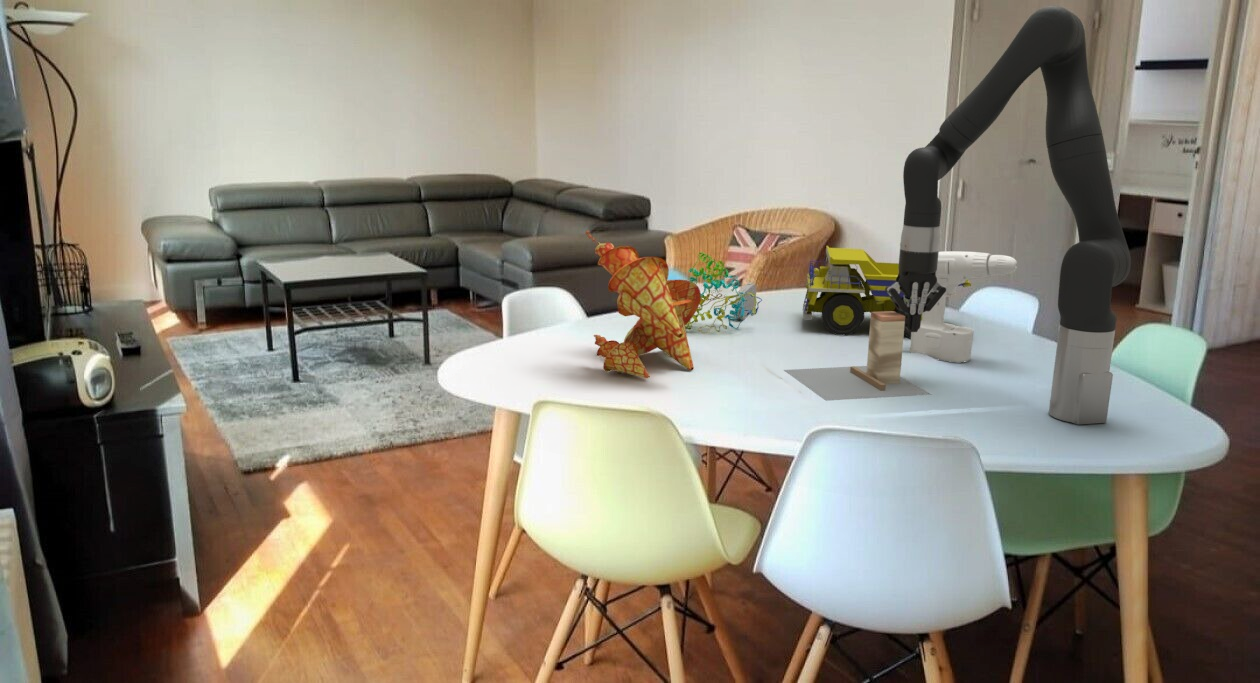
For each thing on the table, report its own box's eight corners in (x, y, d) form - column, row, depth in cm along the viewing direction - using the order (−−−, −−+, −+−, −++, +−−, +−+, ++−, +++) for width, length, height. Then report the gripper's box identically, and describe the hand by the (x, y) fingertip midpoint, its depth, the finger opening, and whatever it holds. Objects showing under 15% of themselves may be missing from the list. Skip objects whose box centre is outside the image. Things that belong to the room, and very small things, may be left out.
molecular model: (680, 254, 228) (694, 232, 241) (656, 326, 239) (670, 301, 252) (767, 287, 226) (776, 263, 239) (738, 358, 237) (748, 332, 250)
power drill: (999, 371, 205) (1011, 258, 199) (894, 353, 220) (902, 247, 214) (1011, 363, 212) (1023, 254, 206) (908, 346, 226) (917, 243, 220)
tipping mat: (931, 399, 185) (932, 388, 184) (825, 405, 180) (826, 394, 180) (879, 369, 206) (880, 359, 205) (783, 374, 201) (783, 364, 200)
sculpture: (682, 316, 179) (588, 193, 193) (604, 408, 192) (521, 287, 207) (771, 315, 204) (682, 207, 219) (696, 397, 217) (617, 290, 232)
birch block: (899, 382, 192) (905, 316, 189) (877, 384, 191) (882, 317, 188) (888, 376, 197) (893, 311, 194) (866, 377, 196) (871, 311, 192)
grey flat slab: (747, 308, 269) (749, 279, 267) (755, 309, 268) (756, 280, 266) (733, 322, 251) (734, 291, 249) (741, 323, 250) (742, 292, 248)
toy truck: (967, 342, 231) (975, 263, 227) (803, 335, 237) (807, 257, 233) (950, 322, 254) (957, 249, 249) (801, 315, 260) (805, 244, 255)
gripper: (898, 251, 184) (890, 336, 188) (959, 250, 187) (950, 334, 191) (880, 245, 191) (874, 328, 195) (939, 244, 194) (931, 326, 198)
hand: (911, 331), depth 193 cm, fingers closed
